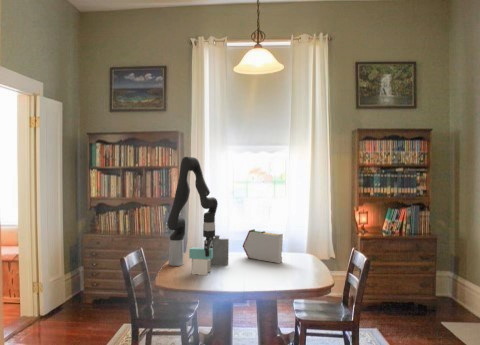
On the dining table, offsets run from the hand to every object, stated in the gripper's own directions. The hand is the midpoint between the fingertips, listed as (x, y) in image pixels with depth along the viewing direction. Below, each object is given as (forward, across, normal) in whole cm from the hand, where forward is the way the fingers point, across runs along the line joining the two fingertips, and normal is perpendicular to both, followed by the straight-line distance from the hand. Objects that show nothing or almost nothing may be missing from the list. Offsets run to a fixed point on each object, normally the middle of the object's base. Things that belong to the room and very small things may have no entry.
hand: (208, 254), depth 220 cm
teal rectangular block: (+2, 0, -5) cm, 5 cm away
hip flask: (+12, -22, 0) cm, 25 cm away
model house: (+12, -42, +30) cm, 53 cm away
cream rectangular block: (+12, 0, -5) cm, 13 cm away
